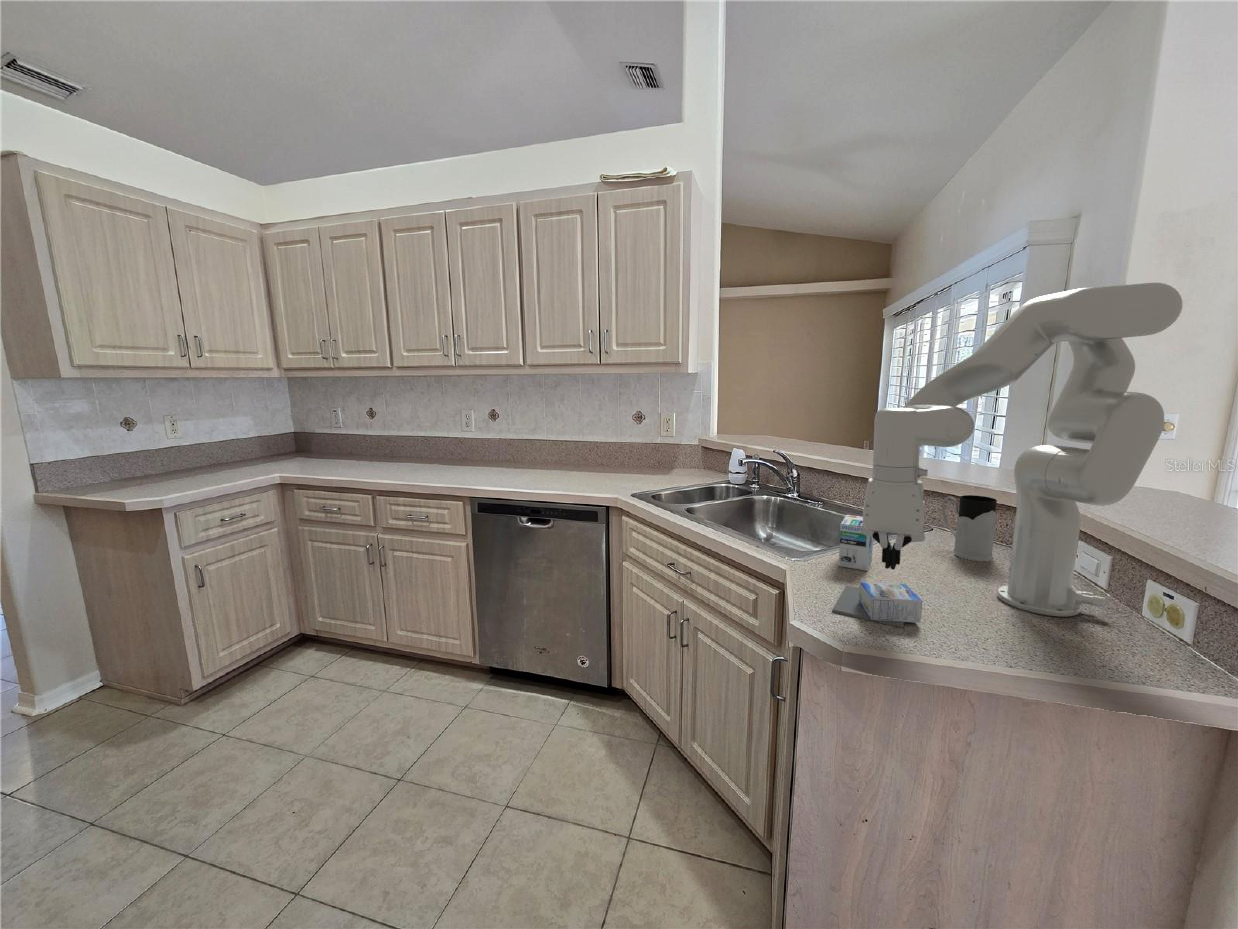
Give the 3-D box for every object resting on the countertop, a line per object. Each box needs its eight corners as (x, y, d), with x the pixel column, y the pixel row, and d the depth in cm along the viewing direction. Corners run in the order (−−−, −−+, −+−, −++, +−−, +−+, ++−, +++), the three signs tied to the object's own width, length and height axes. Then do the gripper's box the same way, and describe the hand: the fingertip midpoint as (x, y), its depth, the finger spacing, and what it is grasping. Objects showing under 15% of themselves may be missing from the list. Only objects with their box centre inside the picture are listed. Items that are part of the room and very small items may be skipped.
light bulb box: (868, 571, 115) (871, 527, 114) (837, 566, 119) (839, 523, 117) (872, 558, 124) (875, 517, 123) (843, 554, 128) (846, 514, 126)
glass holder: (974, 563, 120) (980, 503, 118) (926, 545, 134) (930, 491, 131) (1002, 559, 122) (1009, 501, 120) (952, 542, 136) (957, 489, 133)
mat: (909, 600, 100) (909, 598, 99) (903, 628, 88) (903, 625, 88) (845, 587, 106) (846, 585, 106) (832, 611, 95) (832, 609, 95)
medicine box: (923, 600, 88) (871, 597, 90) (921, 624, 89) (870, 620, 90) (906, 583, 96) (859, 580, 97) (904, 605, 96) (857, 602, 98)
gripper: (943, 473, 91) (937, 567, 94) (854, 468, 99) (852, 555, 102) (941, 480, 85) (935, 580, 88) (848, 474, 93) (845, 566, 96)
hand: (890, 566), depth 95 cm, fingers closed
